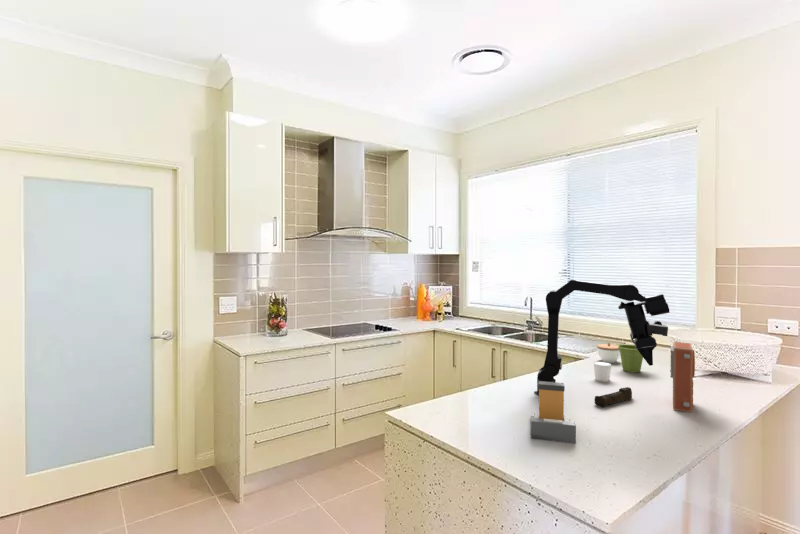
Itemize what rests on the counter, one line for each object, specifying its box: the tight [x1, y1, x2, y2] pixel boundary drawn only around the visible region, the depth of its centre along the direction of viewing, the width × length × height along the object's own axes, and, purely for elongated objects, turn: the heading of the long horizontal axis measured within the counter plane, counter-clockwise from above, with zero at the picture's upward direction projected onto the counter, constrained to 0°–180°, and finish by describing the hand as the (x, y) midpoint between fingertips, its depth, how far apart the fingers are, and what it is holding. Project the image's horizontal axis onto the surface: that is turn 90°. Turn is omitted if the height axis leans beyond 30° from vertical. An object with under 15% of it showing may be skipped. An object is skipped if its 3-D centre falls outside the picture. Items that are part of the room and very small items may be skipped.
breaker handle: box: [538, 381, 565, 421], centre depth 132 cm, size 3×7×12 cm, turn 73°
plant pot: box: [617, 344, 644, 373], centre depth 198 cm, size 12×12×11 cm
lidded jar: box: [596, 342, 621, 364], centre depth 217 cm, size 11×11×9 cm
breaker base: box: [530, 412, 577, 444], centre depth 129 cm, size 16×12×5 cm
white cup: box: [593, 361, 612, 382], centre depth 184 cm, size 7×7×7 cm
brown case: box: [669, 341, 696, 413], centre depth 150 cm, size 21×7×15 cm
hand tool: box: [594, 386, 633, 408], centre depth 154 cm, size 19×4×5 cm, turn 117°
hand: (649, 362), depth 150 cm, fingers open, 9 cm apart
